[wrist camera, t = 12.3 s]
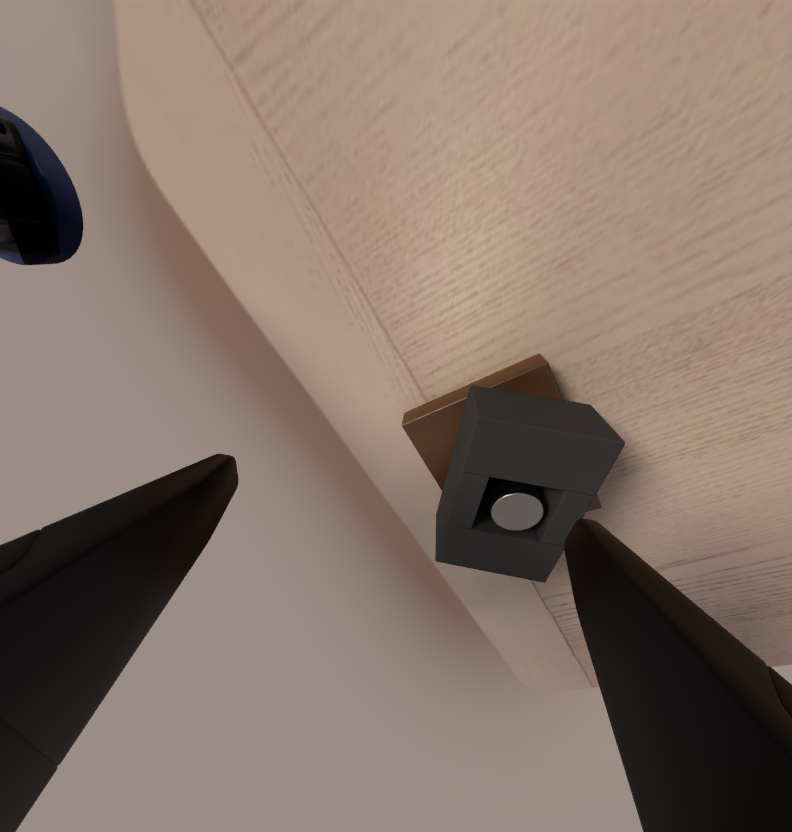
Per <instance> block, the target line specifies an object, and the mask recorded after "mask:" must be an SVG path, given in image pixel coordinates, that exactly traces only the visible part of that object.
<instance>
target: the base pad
mask: <svg viewBox="0 0 792 832" xmlns="http://www.w3.org/2000/svg"><path fill="white" fill-rule="evenodd" d="M471 385H475V386H480V387H486V388H492V389H498V390H504V391H510V392H516V393H522V394H528V395H534V396H540V397H546V398H552V399H558V400H562V399H561V397H560V394H559V391H558V389H557V386H556V383H555V381H554V378H553V375H552V373H551V370H550V367H549V365H548V363H547V362H546V360H545V359H544V358H543V357H542V356H541V355H540V354H537V355H535V356H532V357H530V358H528V359H526V360H523V361H521V362H519V363H517V364H514V365H512V366H510V367H508V368H505V369H503V370H501V371H499V372H496V373H494V374H492V375H489V376H487V377H485V378H483V379H480V380H478V381H476V382H474V383H471V384H469V385H467V386H465V387H462V388H460V389H458V390H456V391H453V392H451V393H449V394H447V395H444V396H442V397H440V398H438V399H435V400H433V401H431V402H429V403H426V404H424V405H422V406H420V407H417V408H415V409H413V410H410V411H408V412H406V413H404V417H403V422H402V427H403V428H404V430H405V432H406V433H407V435H408V436H409V438H410V440H411V441H412V443H413V444H414V446H415V448H416V449H417V451H418V453H419V454H420V456H421V457H422V459H423V461H424V462H425V464H426V465H427V467H428V469H429V470H430V472H431V474H432V475H433V477H434V478H435V480H436V482H437V483H438V485H439V486H440V488H441V490H442V491H443V487H444V483H445V481H446V476H447V472H448V469H449V465H450V461H451V457H452V453H453V450H454V446H455V442H456V438H457V434H458V431H459V427H460V423H461V419H462V415H463V412H464V408H465V404H466V400H467V397H468V393H469V389H470V386H471ZM486 490H487V496H488V501H489V507H490V512H491V517H492V519H493V520H494V522H495V523H496V524H497V525H499V526H500V527H502V528H505V529H508V530H524V529H528V528H530V527H532V526H534V525H536V524H537V523H538V522H539V521H540V520H541V518H542V516H543V505H542V503H541V500H540V498H539V495H538V492H537V490H536V487H535V485H532V484H526V483H521V482H515V481H510V480H504V479H499V478H493V477H489V480H488V483H487V485H486ZM598 508H601V504H600V501H599V498H598V496H597V493H596V495H595V496H594V498H593V500H592V502H591V503H590V505H589V507H588V509H587V510H586V512H587V511H591V510H595V509H598Z"/></svg>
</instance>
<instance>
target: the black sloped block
mask: <svg viewBox="0 0 792 832" xmlns="http://www.w3.org/2000/svg"><path fill="white" fill-rule="evenodd" d="M624 445H625V442H624V441H623V440H622V439H621V437H620V436H619V435H618V434H617V433H616V432H615V431H614V430H613V429H612V428H611V427H610V426H609V424H608V423H607V422H606V421H605V420H604V419H603V418H602V417H601V416H600V415H599V414H598V413H597V411H596V410H595V409H594V408H593V407H592V406H591V405H588V404H582V403H576V402H570V401H564V400H558V399H552V398H546V397H540V396H534V395H528V394H522V393H516V392H510V391H504V390H498V389H492V388H486V387H480V386H475V385H471V386H470V389H469V393H468V397H467V400H466V404H465V408H464V412H463V415H462V419H461V423H460V427H459V431H458V434H457V438H456V442H455V446H454V450H453V453H452V457H451V461H450V465H449V469H448V472H447V476H446V481H445V483H444V487H443V491H442V495H441V499H440V502H439V506H438V510H437V514H436V557H435V560H436V561H437V562H442V563H447V564H452V565H457V566H462V567H467V568H473V569H478V570H483V571H488V572H493V573H498V574H503V575H508V576H514V577H519V578H524V579H529V580H534V581H539V582H546V580H547V578H548V576H549V575H550V573H551V571H552V569H553V568H554V566H555V564H556V563H557V561H558V559H559V557H560V556H561V554H562V552H563V551H564V542H565V539H566V537H567V535H568V534H569V532H570V530H571V529H572V527H573V525H574V523H575V522H576V521H577V520H578V519H581V518H582V517H583V515H584V514H585V512H586V510H587V509H588V507H589V505H590V503H591V502H592V500H593V498H594V496H595V495H596V493H597V492H598V490H599V488H600V486H601V485H602V483H603V481H604V479H605V478H606V476H607V474H608V473H609V471H610V469H611V467H612V466H613V464H614V462H615V461H616V459H617V457H618V455H619V454H620V452H621V450H622V448H623V447H624ZM489 477H493V478H499V479H504V480H510V481H515V482H521V483H526V484H532V485H535V487H536V490H537V492H538V495H539V498H540V500H541V503H542V505H543V516H542V518H541V520H540V521H539V522H538V523H537V524H536V525H534V526H532V527H530V528H528V529H524V530H508V529H505V528H502V527H500V526H499V525H497V524H496V523H495V522H494V520H493V519H492V517H491V512H490V507H489V501H488V496H487V490H486V485H487V483H488V480H489Z"/></svg>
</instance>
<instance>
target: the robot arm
mask: <svg viewBox="0 0 792 832" xmlns="http://www.w3.org/2000/svg"><path fill="white" fill-rule="evenodd" d="M0 250H5V251H11V252H17V253H23V254H30V255H36V256H42V257H59V256H60V248H59V245H58V242H57V240H56V237H55V234H54V231H53V228H52V225H51V222H50V219H49V216H48V214H47V211H46V208H45V205H44V202H43V199H42V196H41V193H40V190H39V187H38V185H37V182H36V179H35V176H34V173H33V170H32V167H31V164H30V161H29V159H28V156H27V153H26V150H25V147H24V144H23V141H22V138H21V135H20V133H19V130H18V128H17V127H16V125H15V124H14V123H13V122H12V121H11V120H9V119H6V118H3V117H0ZM237 486H238V473H237V466H236V461H235V458H234V457H233V456H230V455H224V454H216V455H213V456H211V457H208V458H206V459H204V460H201V461H199V462H197V463H194V464H192V465H190V466H187V467H185V468H182V469H180V470H178V471H175V472H173V473H171V474H168V475H166V476H164V477H161V478H159V479H156V480H154V481H152V482H149V483H147V484H145V485H142V486H140V487H137V488H135V489H133V490H130V491H128V492H126V493H123V494H121V495H119V496H116V497H114V498H112V499H109V500H107V501H104V502H102V503H100V504H97V505H95V506H93V507H90V508H88V509H85V510H83V511H81V512H78V513H76V514H73V515H71V516H69V517H66V518H64V519H62V520H59V521H57V522H55V523H52V524H50V525H47V526H45V527H43V528H42V529H41V530H36V531H33V532H31V533H28V534H26V535H24V536H21V537H19V538H17V539H14V540H12V541H10V542H7V543H5V544H2V545H0V832H15V831H16V830H17V828H18V827H19V825H20V824H21V822H22V821H23V819H24V818H25V816H26V815H27V813H28V812H29V810H30V809H31V807H32V806H33V804H34V803H35V801H36V800H37V798H38V797H39V795H40V794H41V792H42V791H43V789H44V788H45V786H46V785H47V784H48V782H49V781H50V779H51V778H52V776H53V774H54V773H55V772H56V770H57V766H58V765H59V764H60V763H61V762H62V760H63V759H64V757H65V756H66V754H67V753H68V751H69V750H70V748H71V747H72V745H73V744H74V742H75V741H76V739H77V738H78V736H79V735H80V733H81V732H82V731H83V729H84V727H85V726H86V725H87V723H88V722H89V720H90V719H91V717H92V716H93V714H94V713H95V711H96V709H97V708H98V707H99V705H100V704H101V702H102V700H103V699H104V698H105V696H106V694H107V693H108V692H109V690H110V688H111V687H112V686H113V684H114V683H115V681H116V679H117V678H118V677H119V675H120V673H121V672H122V671H123V669H124V668H125V666H126V665H127V663H128V662H129V660H130V659H131V657H132V656H133V654H134V653H135V651H136V650H137V648H138V647H139V645H140V644H141V642H142V641H143V639H144V637H145V636H146V635H147V633H148V632H149V630H150V629H151V627H152V626H153V624H154V623H155V621H156V620H157V618H158V617H159V615H160V614H161V612H162V611H163V609H164V608H165V606H166V605H167V603H168V602H169V600H170V599H171V597H172V596H173V594H174V593H175V591H176V590H177V588H178V587H179V585H180V584H181V582H182V581H183V579H184V577H185V576H186V575H187V573H188V572H189V570H190V569H191V567H192V566H193V564H194V563H195V561H196V560H197V558H198V557H199V555H200V554H201V552H202V550H203V549H204V548H205V546H206V544H207V543H208V541H209V540H210V538H211V536H212V534H213V533H214V531H215V529H216V527H217V525H218V523H219V521H220V519H221V517H222V515H223V514H224V512H225V510H226V508H227V506H228V504H229V502H230V500H231V498H232V497H233V495H234V492H235V491H236V489H237ZM564 550H565V555H566V560H567V565H568V570H569V576H570V581H571V586H572V591H573V596H574V601H575V605H576V609H577V613H578V617H579V620H580V623H581V627H582V630H583V633H584V637H585V640H586V643H587V647H588V650H589V653H590V657H591V660H592V663H593V666H594V670H595V673H596V676H597V680H598V683H599V686H600V689H601V693H602V696H603V699H604V703H605V706H606V709H607V713H608V716H609V719H610V723H611V726H612V729H613V733H614V735H615V739H616V742H617V746H618V749H619V752H620V756H621V759H622V762H623V766H624V769H625V772H626V776H627V779H628V782H629V786H630V789H631V792H632V795H633V799H634V802H635V805H636V809H637V812H638V815H639V819H640V822H641V825H642V829H643V832H792V685H791V684H790V683H789V682H788V681H787V680H785V679H784V678H783V677H782V676H781V675H779V674H778V673H777V672H776V671H775V670H773V669H772V668H771V667H769V666H766V664H765V662H764V661H763V660H761V659H760V658H759V657H758V656H757V655H755V654H754V653H753V652H752V651H751V650H750V649H748V648H747V647H746V646H745V645H744V644H742V643H741V642H740V641H739V640H738V639H736V638H735V637H734V636H733V635H732V634H730V633H729V632H728V631H727V630H726V629H724V628H723V627H722V626H721V625H720V624H719V623H717V622H716V621H715V620H714V619H713V618H711V617H710V616H709V615H708V614H707V613H705V612H704V611H703V610H702V609H701V608H699V607H698V606H697V605H696V604H695V603H694V602H692V601H691V600H690V599H689V598H688V597H686V596H685V595H684V594H683V593H682V592H680V591H679V590H678V589H677V588H676V587H674V586H673V585H672V584H671V583H670V582H668V581H667V580H666V579H665V578H664V577H663V576H661V575H660V574H659V573H658V572H657V571H655V570H654V569H653V568H652V567H651V566H649V565H648V564H647V563H646V562H645V561H643V560H642V559H641V558H640V557H639V556H637V555H636V554H635V553H634V552H633V551H632V550H630V549H629V548H628V547H627V546H626V545H624V544H623V543H622V542H621V541H620V540H618V539H617V538H616V537H615V536H614V535H612V534H611V533H610V532H609V531H608V530H607V529H605V528H604V527H603V526H602V525H601V524H599V523H598V522H596V521H593V520H588V519H582V518H581V519H578V520H577V521H576V522H575V523H574V525H573V527H572V529H571V530H570V532H569V534H568V535H567V537H566V539H565V542H564Z"/></svg>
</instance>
